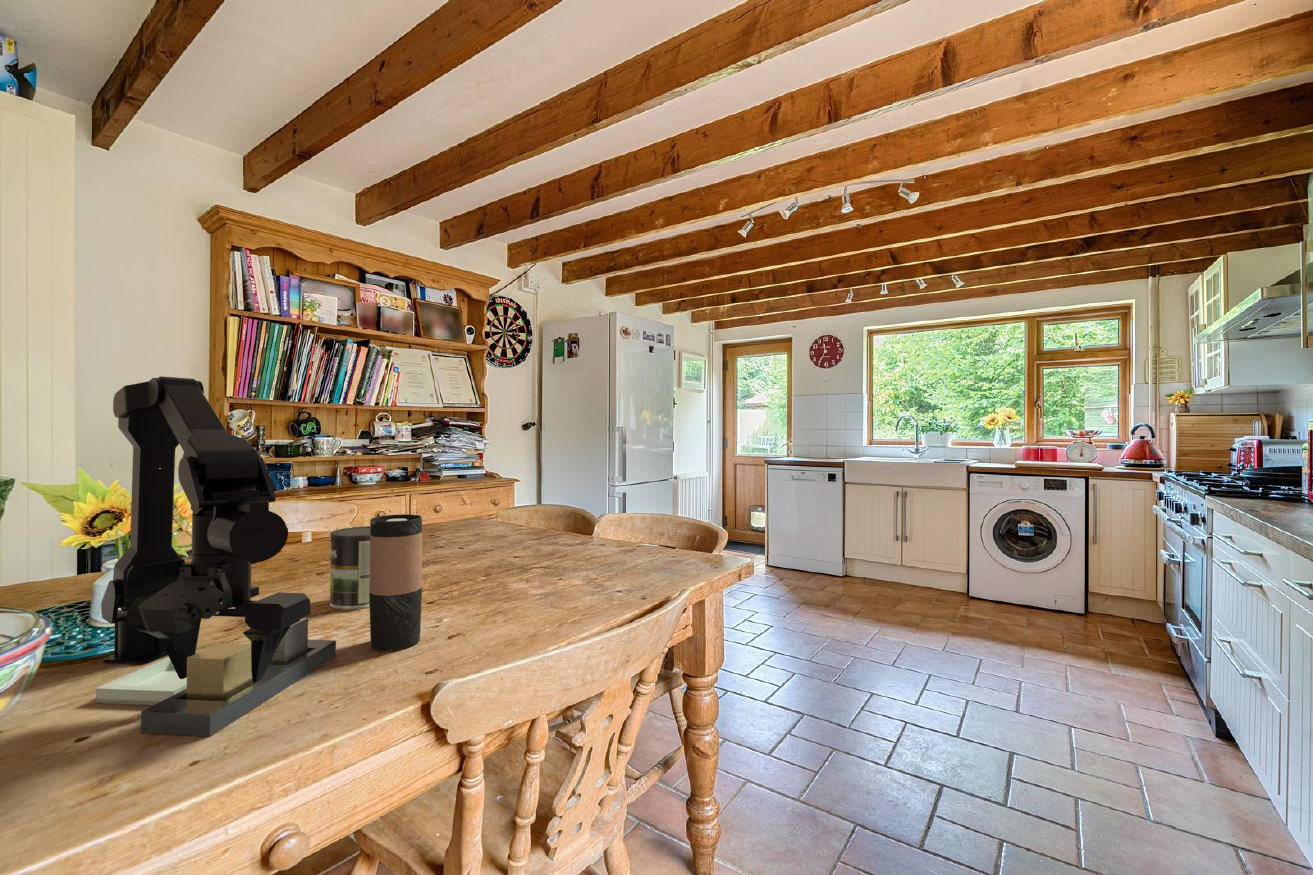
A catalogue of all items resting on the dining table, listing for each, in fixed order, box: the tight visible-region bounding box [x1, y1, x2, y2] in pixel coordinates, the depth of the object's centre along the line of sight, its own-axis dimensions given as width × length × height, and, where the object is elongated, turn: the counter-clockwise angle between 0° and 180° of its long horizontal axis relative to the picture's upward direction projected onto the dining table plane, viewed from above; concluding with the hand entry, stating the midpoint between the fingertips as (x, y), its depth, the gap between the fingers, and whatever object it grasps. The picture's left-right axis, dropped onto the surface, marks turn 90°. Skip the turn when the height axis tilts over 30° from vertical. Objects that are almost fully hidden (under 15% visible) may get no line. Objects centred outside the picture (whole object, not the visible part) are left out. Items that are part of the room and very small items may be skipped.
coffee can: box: [329, 525, 370, 611], centre depth 110 cm, size 10×10×14 cm
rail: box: [140, 639, 337, 738], centre depth 72 cm, size 8×22×2 cm, turn 177°
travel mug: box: [369, 513, 423, 652], centre depth 89 cm, size 8×8×20 cm
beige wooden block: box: [187, 642, 253, 701], centre depth 67 cm, size 4×4×7 cm
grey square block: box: [269, 617, 309, 665], centre depth 77 cm, size 4×4×7 cm
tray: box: [95, 656, 187, 706], centre depth 73 cm, size 10×10×2 cm
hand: (221, 679), depth 67 cm, fingers open, 9 cm apart
